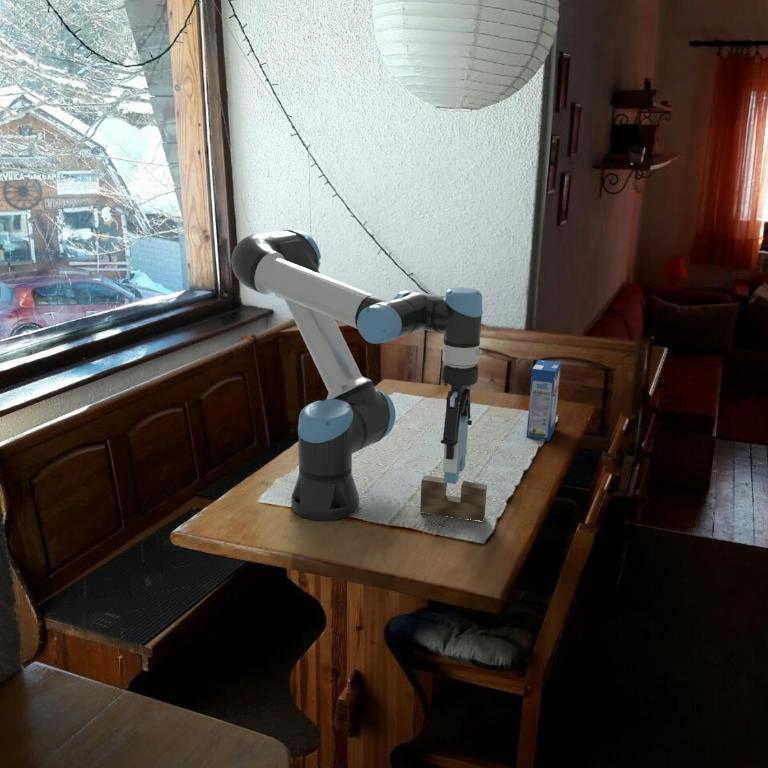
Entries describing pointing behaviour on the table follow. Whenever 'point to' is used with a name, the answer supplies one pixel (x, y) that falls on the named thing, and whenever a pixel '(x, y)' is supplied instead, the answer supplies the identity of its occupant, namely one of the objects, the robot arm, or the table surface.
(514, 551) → the table surface
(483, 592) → the table surface
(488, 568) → the table surface
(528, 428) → the milk carton
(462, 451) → the teal slotted plate
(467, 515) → the walnut slotted plate
